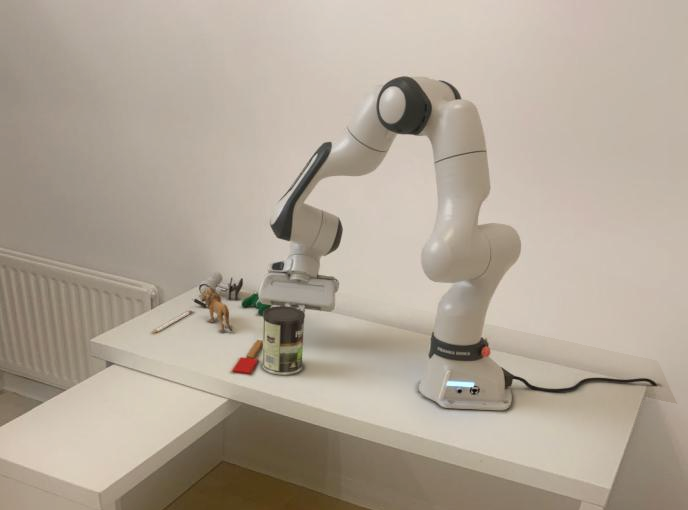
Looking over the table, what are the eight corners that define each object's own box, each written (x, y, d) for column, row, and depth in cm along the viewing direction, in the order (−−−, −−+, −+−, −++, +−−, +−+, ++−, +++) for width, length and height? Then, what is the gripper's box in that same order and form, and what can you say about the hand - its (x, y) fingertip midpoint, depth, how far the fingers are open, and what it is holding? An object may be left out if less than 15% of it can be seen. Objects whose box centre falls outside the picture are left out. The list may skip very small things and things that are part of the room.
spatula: (268, 345, 201) (268, 341, 201) (250, 374, 186) (250, 370, 185) (251, 343, 202) (251, 338, 201) (232, 372, 187) (232, 367, 186)
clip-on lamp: (221, 320, 222) (246, 289, 233) (220, 302, 217) (246, 271, 228) (185, 310, 224) (212, 280, 235) (184, 291, 219) (211, 261, 230)
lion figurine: (197, 317, 215) (196, 287, 210) (213, 314, 218) (213, 283, 212) (225, 335, 206) (224, 303, 200) (241, 331, 208) (241, 299, 203)
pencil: (191, 313, 218) (191, 310, 218) (154, 334, 204) (154, 331, 204) (189, 312, 218) (189, 310, 218) (152, 333, 204) (151, 331, 204)
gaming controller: (266, 320, 221) (277, 303, 221) (259, 313, 217) (270, 296, 218) (246, 310, 226) (257, 294, 226) (239, 304, 223) (250, 287, 223)
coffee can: (305, 361, 194) (308, 308, 186) (297, 377, 186) (300, 323, 178) (267, 355, 196) (268, 303, 187) (257, 372, 187) (258, 318, 179)
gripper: (341, 283, 199) (332, 331, 197) (266, 274, 202) (257, 322, 199) (339, 271, 193) (330, 321, 190) (262, 263, 195) (253, 312, 193)
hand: (292, 322), depth 195 cm, fingers closed
